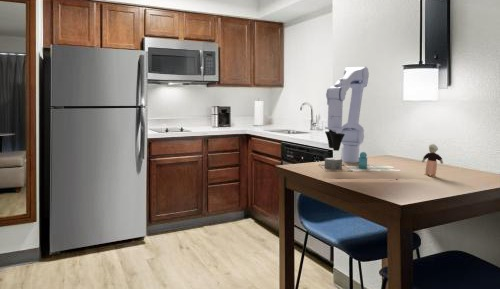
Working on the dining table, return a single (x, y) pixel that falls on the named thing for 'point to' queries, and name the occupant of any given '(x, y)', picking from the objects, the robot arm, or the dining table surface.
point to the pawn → (362, 161)
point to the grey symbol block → (333, 163)
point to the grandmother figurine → (432, 161)
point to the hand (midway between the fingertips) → (333, 149)
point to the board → (378, 168)
